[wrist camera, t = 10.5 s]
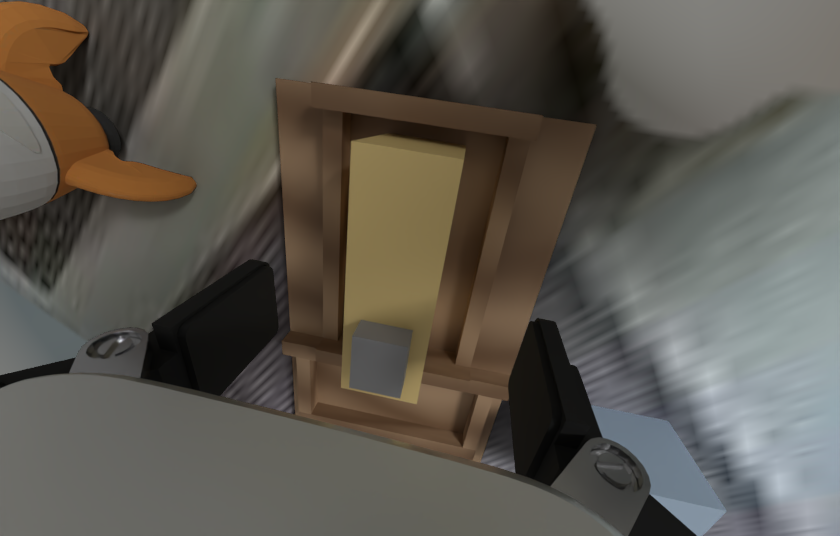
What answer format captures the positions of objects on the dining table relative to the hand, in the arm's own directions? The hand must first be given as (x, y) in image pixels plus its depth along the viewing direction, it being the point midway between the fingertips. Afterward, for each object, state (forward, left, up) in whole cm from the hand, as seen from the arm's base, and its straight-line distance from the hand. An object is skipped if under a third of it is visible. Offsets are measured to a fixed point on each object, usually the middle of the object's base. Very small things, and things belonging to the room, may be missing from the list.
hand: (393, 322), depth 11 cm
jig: (+7, -1, -9) cm, 11 cm away
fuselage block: (0, -1, -8) cm, 8 cm away
